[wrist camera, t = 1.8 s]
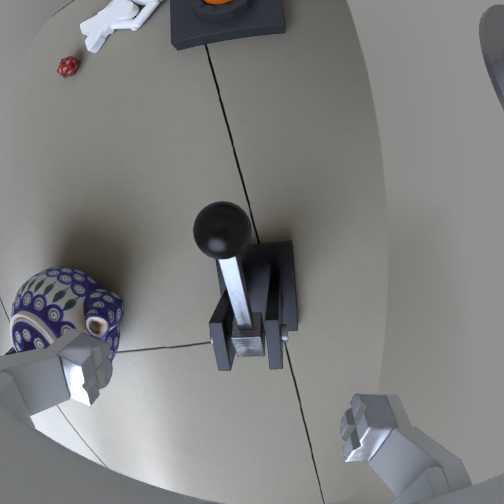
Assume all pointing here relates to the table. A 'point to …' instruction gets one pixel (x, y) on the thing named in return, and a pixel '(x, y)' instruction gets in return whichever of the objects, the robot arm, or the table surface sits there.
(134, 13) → the white abstract figurine
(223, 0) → the button
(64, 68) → the die
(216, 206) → the lever
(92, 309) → the teapot
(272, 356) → the bracket
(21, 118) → the table surface
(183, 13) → the control block
